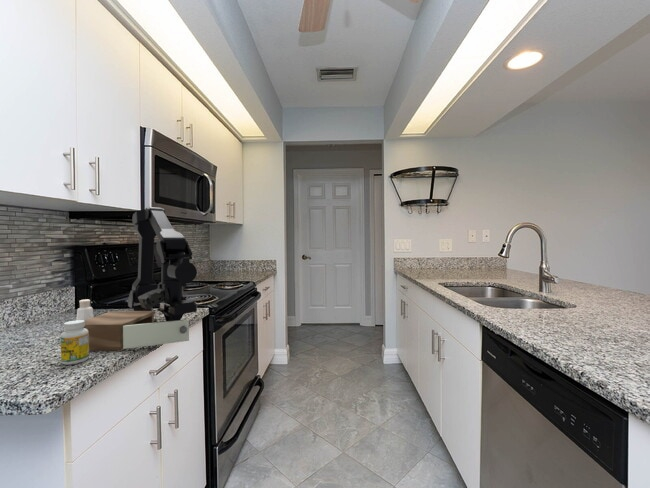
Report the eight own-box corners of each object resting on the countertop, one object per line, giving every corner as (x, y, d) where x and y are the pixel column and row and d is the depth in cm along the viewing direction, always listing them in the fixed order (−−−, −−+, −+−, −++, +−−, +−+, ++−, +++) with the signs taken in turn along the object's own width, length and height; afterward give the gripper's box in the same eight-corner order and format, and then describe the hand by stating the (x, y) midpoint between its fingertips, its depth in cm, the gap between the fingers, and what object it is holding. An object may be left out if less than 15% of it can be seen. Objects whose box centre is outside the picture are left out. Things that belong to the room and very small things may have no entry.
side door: (189, 339, 90) (188, 319, 89) (189, 342, 88) (188, 320, 88) (123, 347, 83) (123, 325, 83) (122, 350, 81) (122, 327, 81)
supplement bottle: (94, 357, 78) (93, 319, 78) (74, 365, 73) (73, 325, 73) (76, 356, 79) (75, 318, 79) (54, 364, 74) (54, 324, 74)
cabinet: (111, 332, 99) (111, 311, 99) (155, 332, 99) (155, 310, 99) (70, 350, 83) (70, 324, 83) (122, 350, 83) (122, 324, 83)
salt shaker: (82, 338, 94) (82, 302, 94) (69, 336, 95) (69, 301, 95) (100, 333, 99) (99, 298, 99) (87, 331, 101) (87, 298, 101)
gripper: (130, 278, 90) (129, 331, 90) (155, 285, 78) (155, 347, 78) (169, 275, 98) (169, 324, 99) (198, 281, 86) (197, 337, 86)
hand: (172, 332), depth 90 cm, fingers closed
